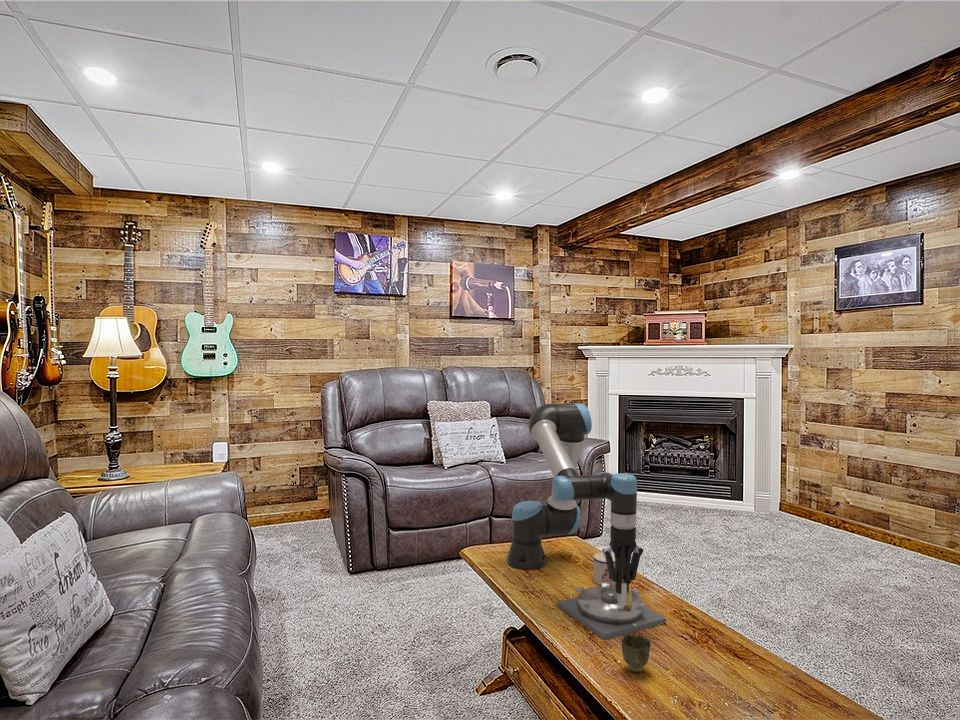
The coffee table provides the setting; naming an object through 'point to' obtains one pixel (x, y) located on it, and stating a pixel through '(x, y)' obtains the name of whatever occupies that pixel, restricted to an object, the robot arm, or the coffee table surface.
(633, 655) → the cup
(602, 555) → the teacup with lid
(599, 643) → the coffee table surface
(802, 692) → the coffee table surface
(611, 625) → the plate
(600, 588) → the grey metal round disc
